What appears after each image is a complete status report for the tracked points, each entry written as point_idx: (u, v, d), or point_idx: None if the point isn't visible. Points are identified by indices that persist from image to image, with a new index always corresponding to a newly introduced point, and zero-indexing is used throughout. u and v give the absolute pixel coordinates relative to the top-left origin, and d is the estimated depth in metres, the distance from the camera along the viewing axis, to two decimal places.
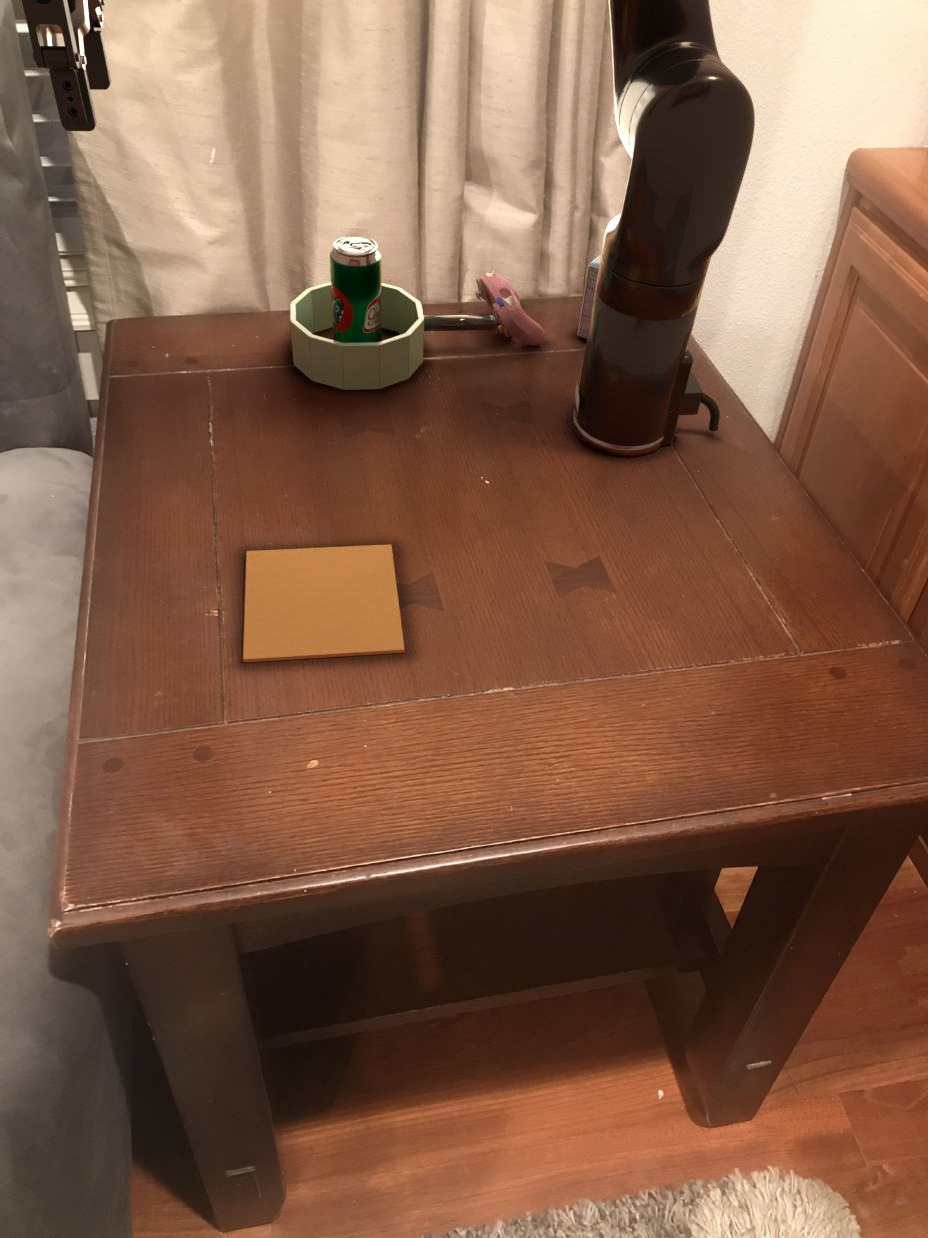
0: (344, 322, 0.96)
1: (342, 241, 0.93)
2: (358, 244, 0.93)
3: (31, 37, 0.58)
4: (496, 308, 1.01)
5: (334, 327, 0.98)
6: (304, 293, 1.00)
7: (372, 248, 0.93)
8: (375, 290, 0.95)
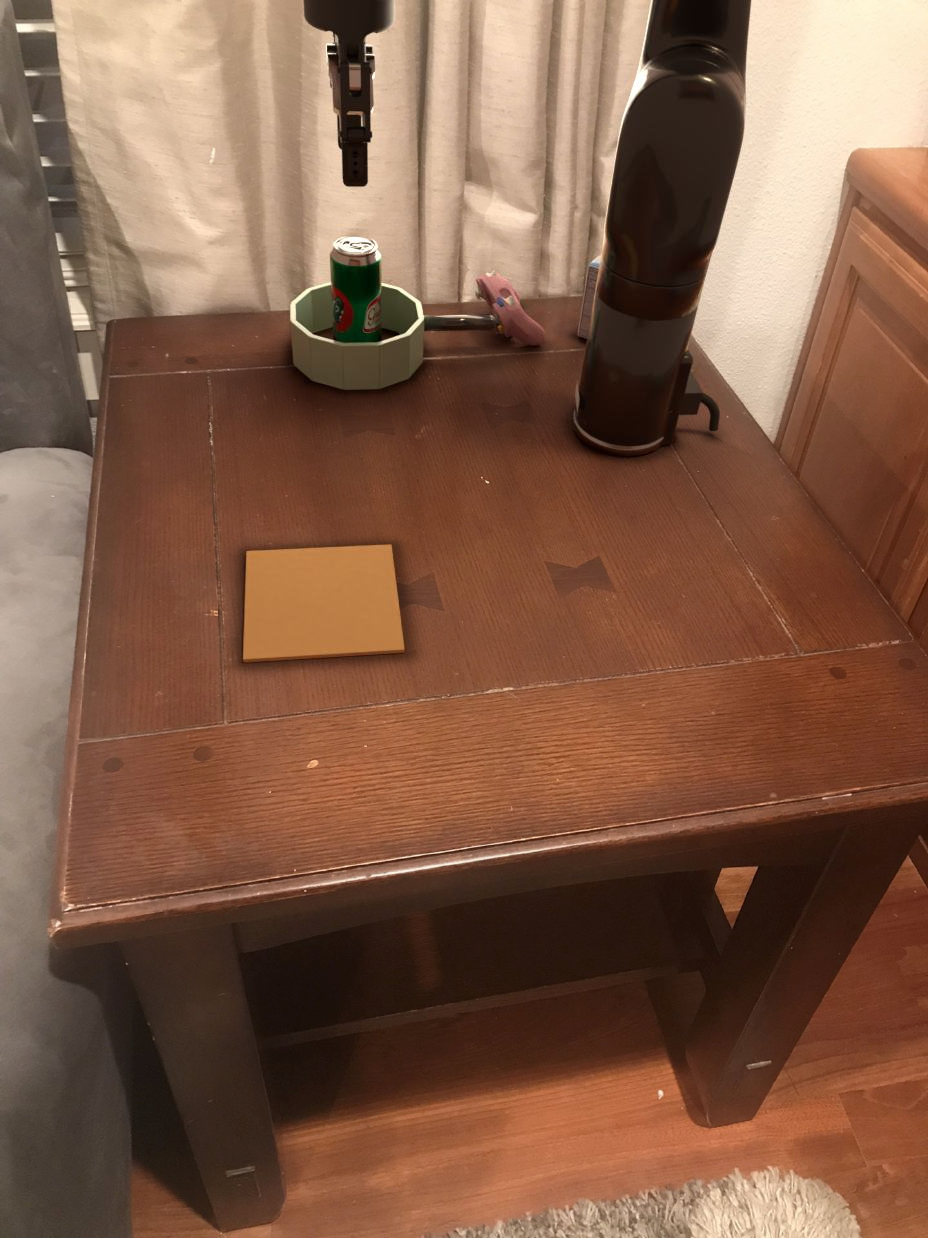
0: (344, 322, 0.96)
1: (342, 241, 0.93)
2: (358, 244, 0.93)
3: (342, 120, 0.78)
4: (496, 308, 1.01)
5: (334, 327, 0.98)
6: (304, 293, 1.00)
7: (372, 248, 0.93)
8: (375, 290, 0.95)
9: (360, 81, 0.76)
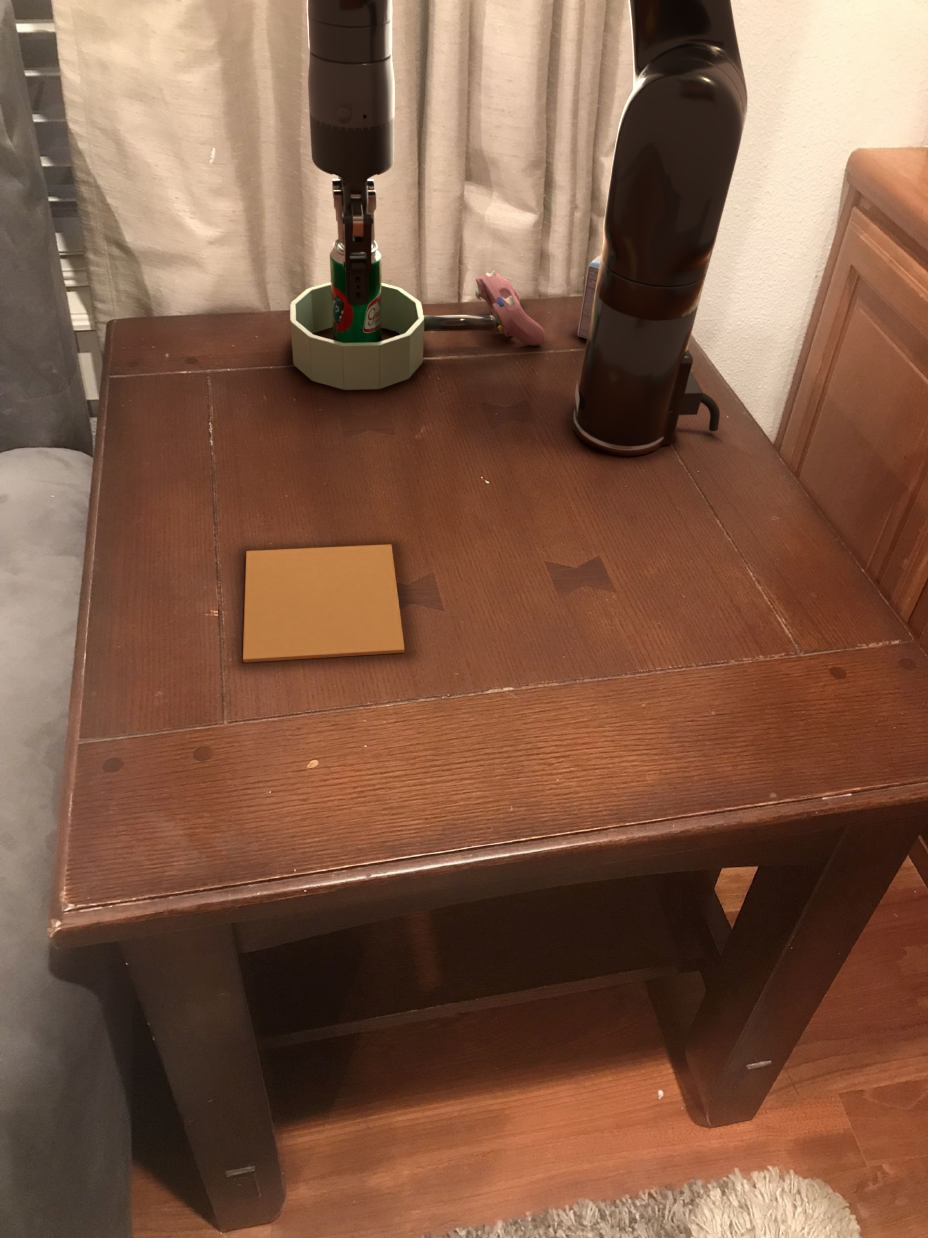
0: (344, 323, 0.96)
1: None
2: None
3: (346, 258, 0.88)
4: (496, 308, 1.01)
5: (334, 327, 0.98)
6: (304, 293, 1.00)
7: (372, 248, 0.93)
8: (375, 290, 0.95)
9: (363, 231, 0.85)
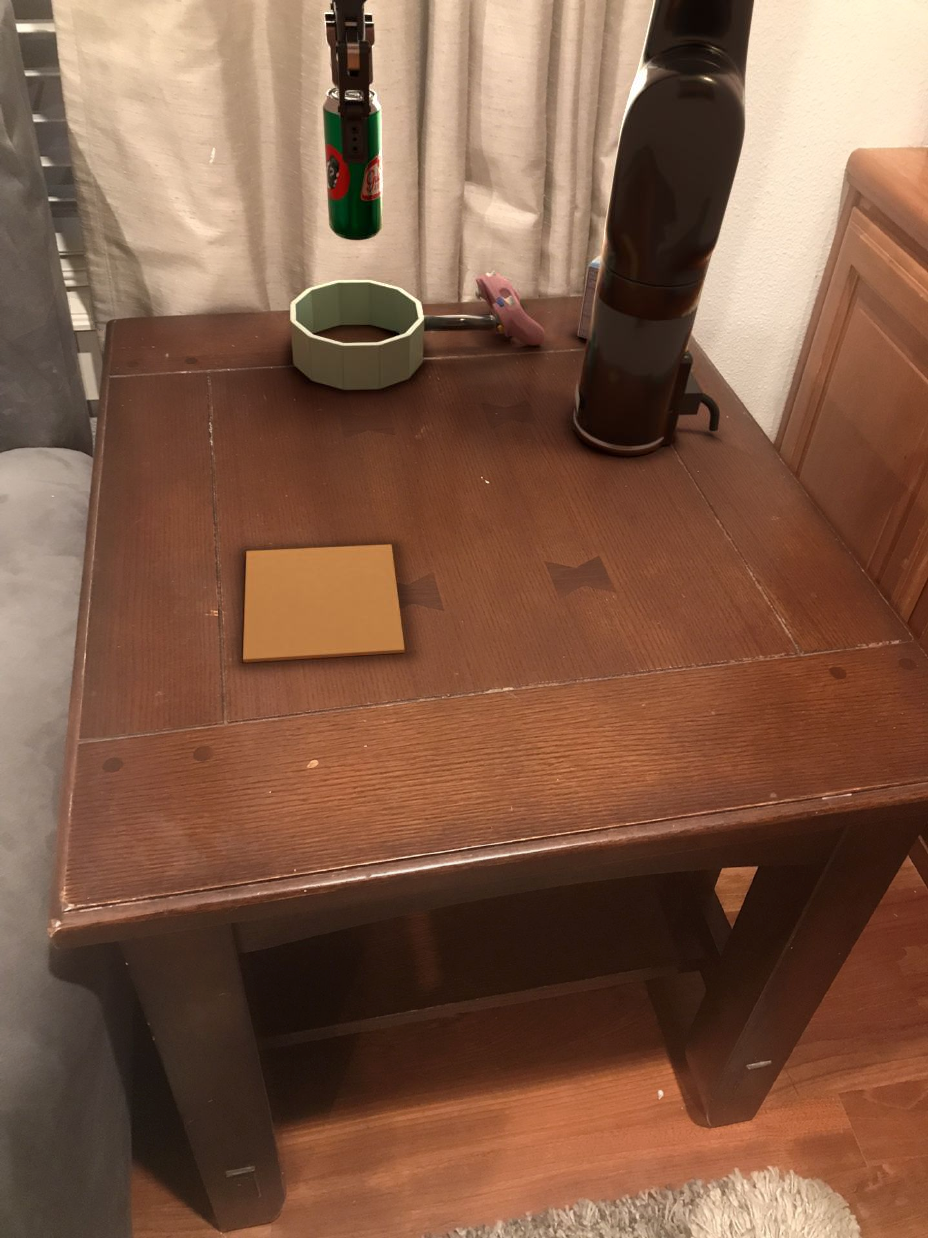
0: (340, 188, 0.86)
1: (337, 90, 0.82)
2: (355, 93, 0.82)
3: (340, 99, 0.77)
4: (496, 308, 1.01)
5: (329, 195, 0.87)
6: (304, 293, 1.00)
7: (370, 97, 0.82)
8: (374, 148, 0.84)
9: (359, 62, 0.74)
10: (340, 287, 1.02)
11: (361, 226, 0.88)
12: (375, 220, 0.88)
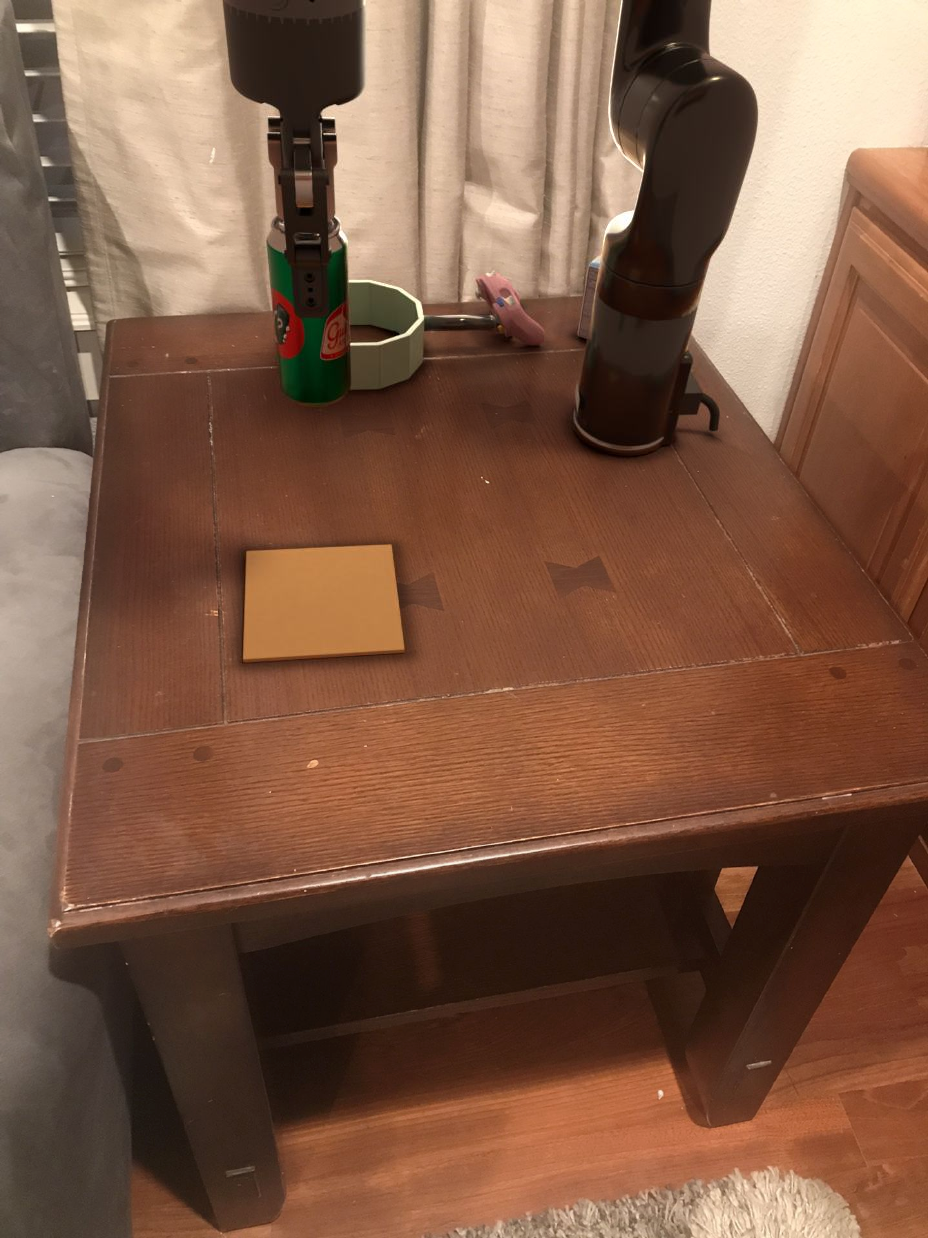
0: (291, 345, 0.63)
1: None
2: None
3: (287, 244, 0.54)
4: (496, 308, 1.01)
5: (277, 351, 0.64)
6: None
7: (332, 229, 0.59)
8: (338, 294, 0.61)
9: (312, 198, 0.52)
10: None
11: (321, 391, 0.65)
12: (340, 382, 0.65)
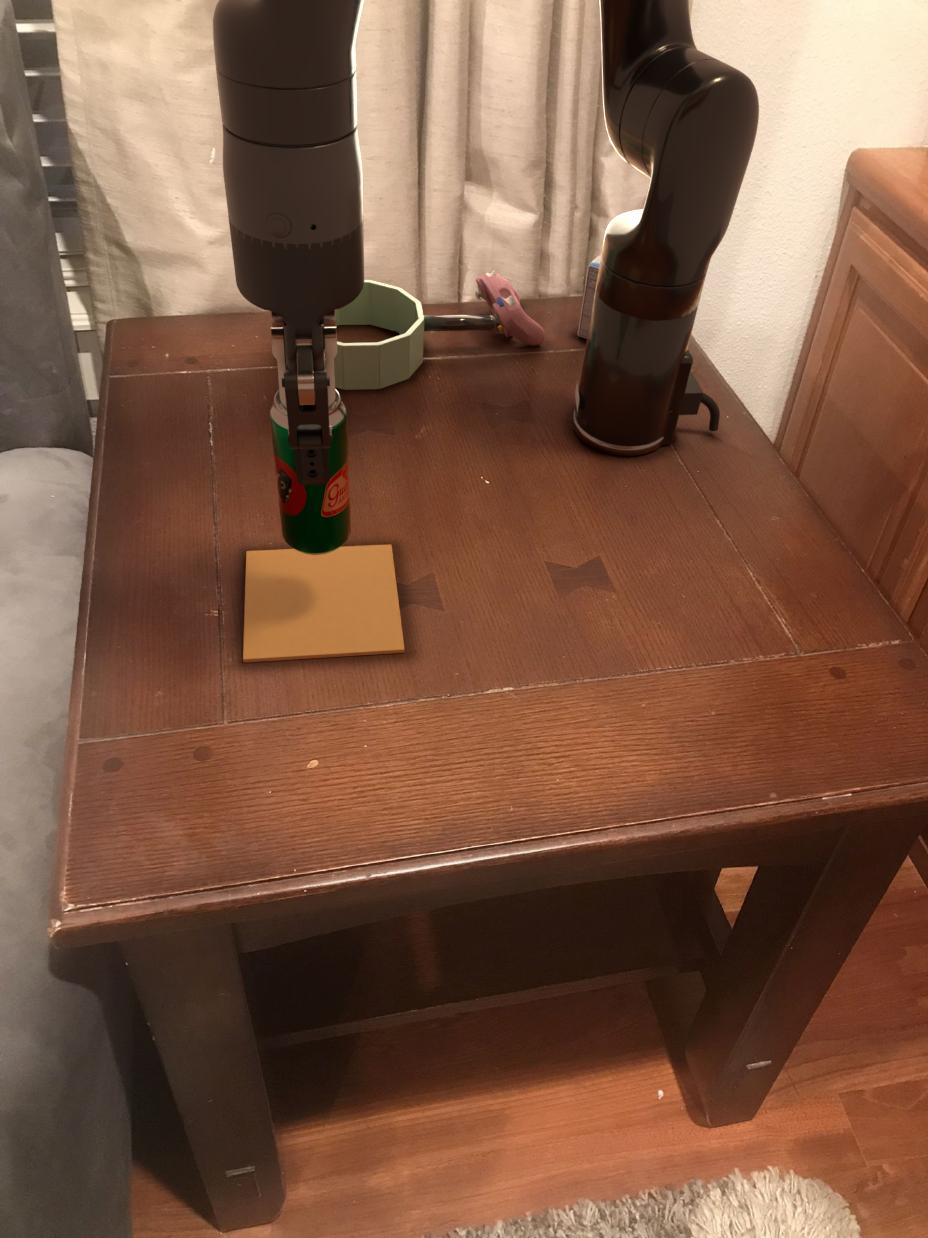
0: (294, 504, 0.66)
1: None
2: None
3: (290, 433, 0.57)
4: (496, 308, 1.01)
5: (280, 506, 0.67)
6: None
7: (332, 403, 0.62)
8: (338, 461, 0.64)
9: (314, 398, 0.55)
10: None
11: (322, 543, 0.68)
12: (340, 533, 0.68)
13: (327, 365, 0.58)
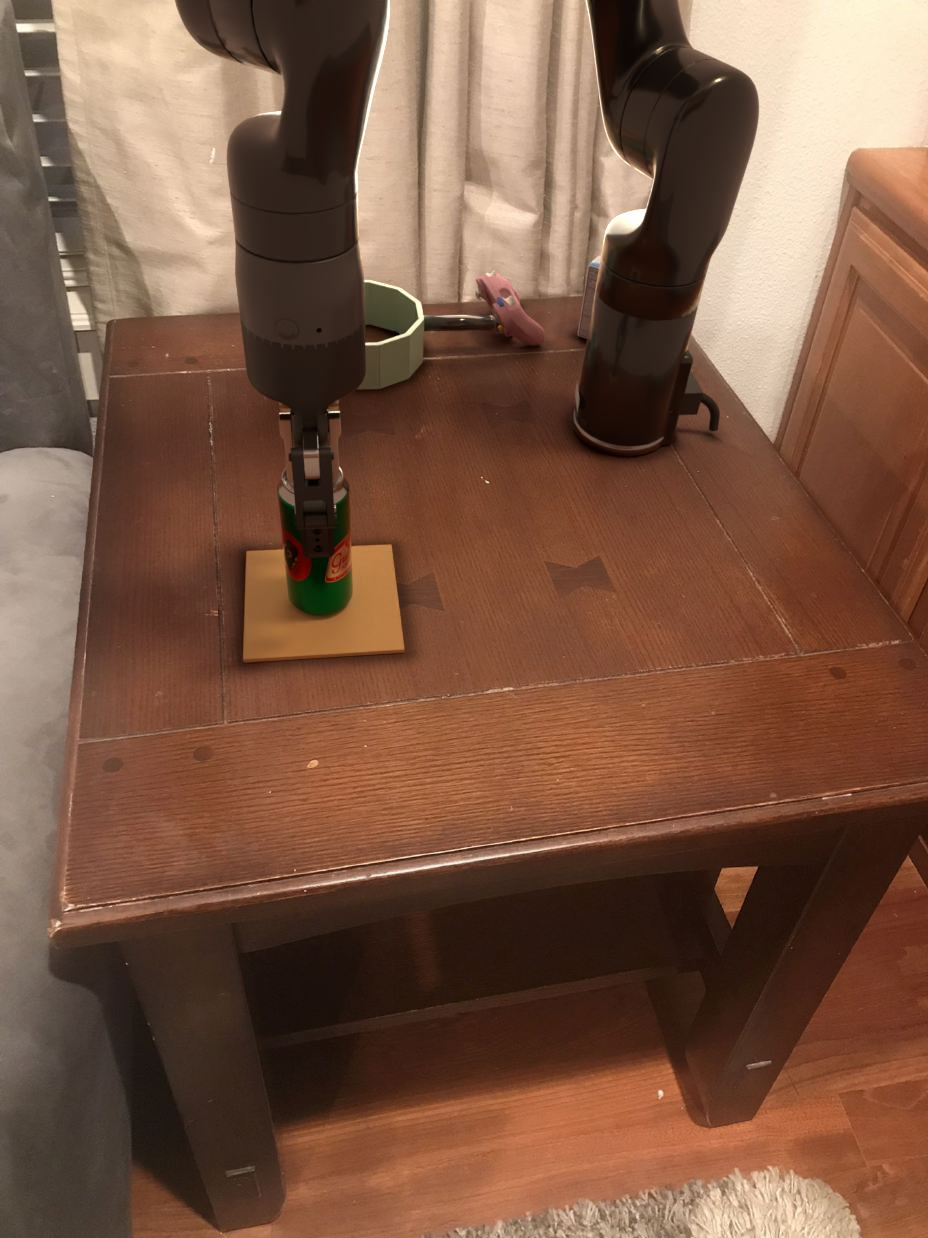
0: (299, 571, 0.70)
1: None
2: None
3: (296, 511, 0.60)
4: (496, 308, 1.01)
5: (287, 572, 0.72)
6: None
7: (336, 481, 0.67)
8: (341, 532, 0.68)
9: (319, 471, 0.58)
10: None
11: (326, 605, 0.73)
12: (343, 596, 0.73)
13: (331, 445, 0.62)
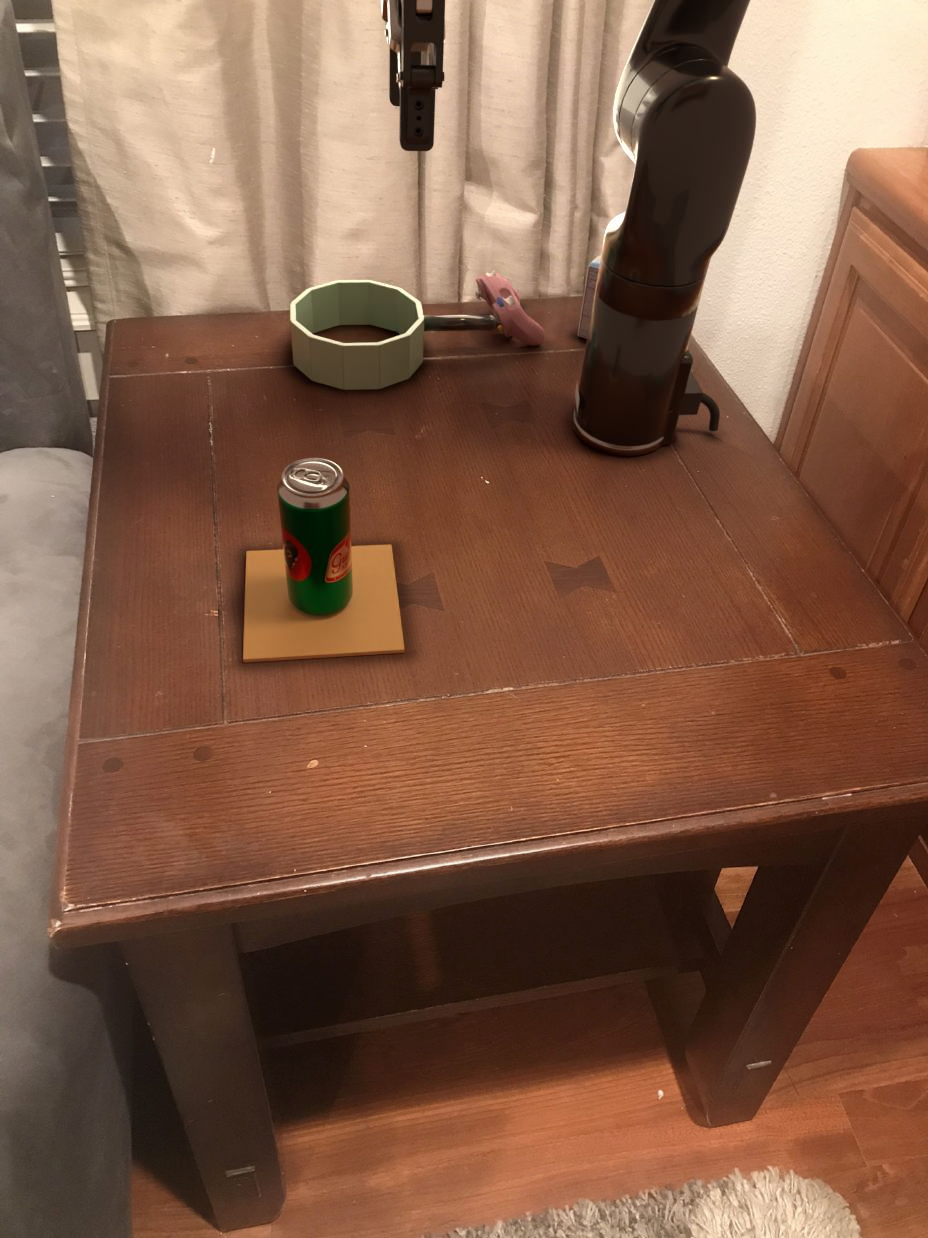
0: (300, 571, 0.70)
1: (294, 470, 0.67)
2: (317, 475, 0.67)
3: (404, 56, 0.56)
4: (496, 308, 1.01)
5: (287, 572, 0.72)
6: (304, 293, 1.00)
7: (336, 481, 0.67)
8: (341, 532, 0.68)
9: None
10: (340, 287, 1.02)
11: (326, 605, 0.73)
12: (343, 596, 0.73)
13: None
